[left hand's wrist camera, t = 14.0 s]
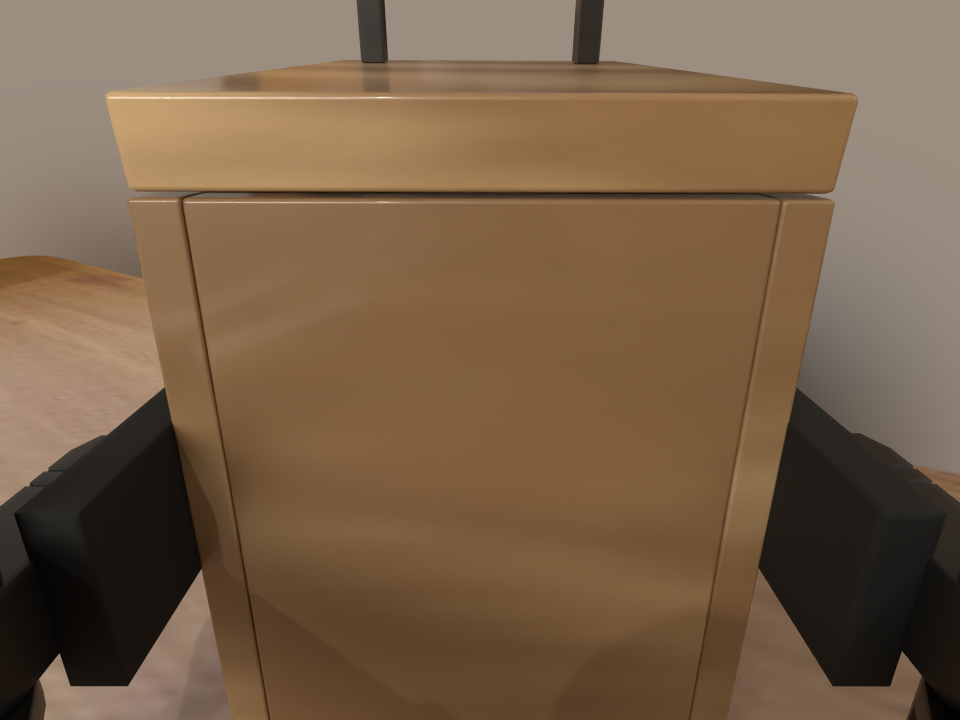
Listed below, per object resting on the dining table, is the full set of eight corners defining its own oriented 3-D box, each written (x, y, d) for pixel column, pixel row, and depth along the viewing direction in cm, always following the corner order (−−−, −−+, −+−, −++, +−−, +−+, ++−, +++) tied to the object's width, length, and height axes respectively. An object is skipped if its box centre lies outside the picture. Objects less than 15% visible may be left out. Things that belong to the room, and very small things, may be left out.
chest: (365, 432, 25) (345, 152, 21) (591, 433, 25) (614, 153, 21) (241, 772, 12) (124, 197, 8) (717, 772, 12) (837, 199, 8)
